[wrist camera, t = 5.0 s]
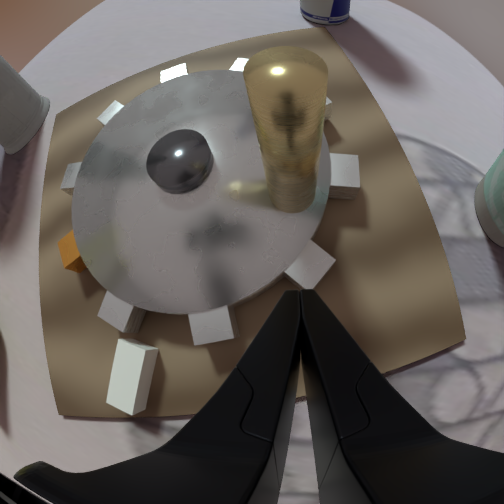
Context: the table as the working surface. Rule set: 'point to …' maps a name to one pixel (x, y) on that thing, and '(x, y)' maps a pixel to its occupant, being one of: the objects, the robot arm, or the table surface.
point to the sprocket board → (258, 309)
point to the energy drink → (325, 11)
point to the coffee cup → (492, 201)
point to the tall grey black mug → (18, 109)
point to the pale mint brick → (131, 375)
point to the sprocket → (208, 192)
